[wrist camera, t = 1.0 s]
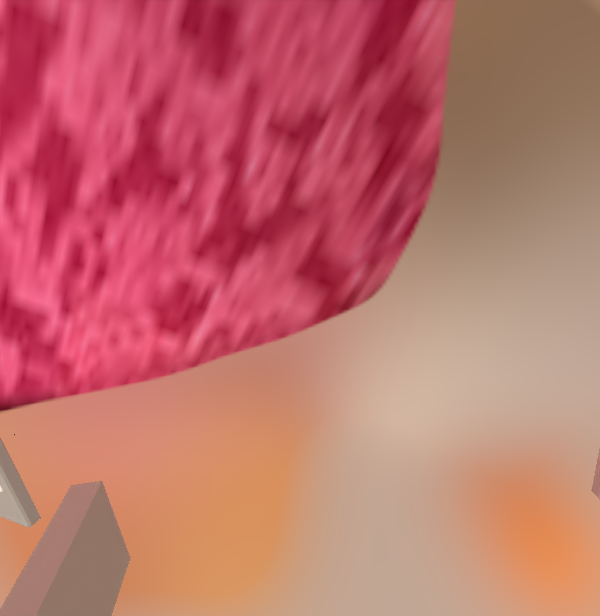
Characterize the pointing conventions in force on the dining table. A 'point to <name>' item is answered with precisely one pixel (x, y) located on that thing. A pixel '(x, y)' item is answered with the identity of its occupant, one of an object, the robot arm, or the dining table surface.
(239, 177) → the dining table surface
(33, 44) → the dining table surface
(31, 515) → the light switch
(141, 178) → the dining table surface
